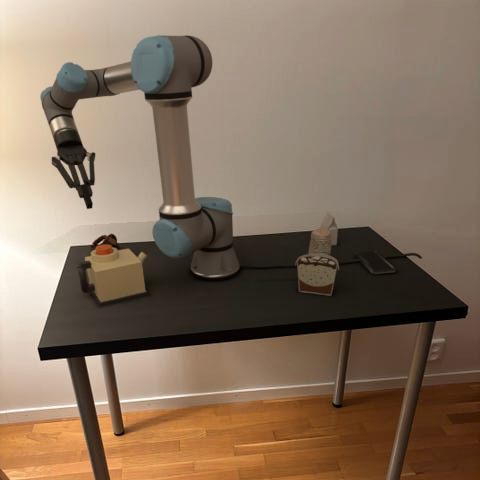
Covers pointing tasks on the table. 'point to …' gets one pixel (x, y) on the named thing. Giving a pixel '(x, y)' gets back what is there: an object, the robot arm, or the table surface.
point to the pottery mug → (106, 241)
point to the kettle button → (104, 249)
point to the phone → (375, 262)
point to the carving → (320, 242)
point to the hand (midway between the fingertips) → (89, 206)
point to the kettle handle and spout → (91, 287)
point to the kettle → (115, 274)
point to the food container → (316, 273)
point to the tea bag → (330, 227)
